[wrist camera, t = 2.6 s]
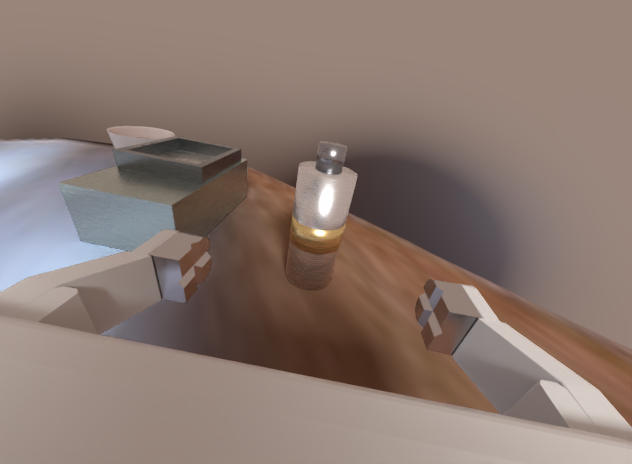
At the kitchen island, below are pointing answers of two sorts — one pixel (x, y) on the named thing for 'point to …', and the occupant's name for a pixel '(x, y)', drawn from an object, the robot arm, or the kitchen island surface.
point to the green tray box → (157, 192)
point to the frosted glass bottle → (319, 217)
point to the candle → (136, 135)
